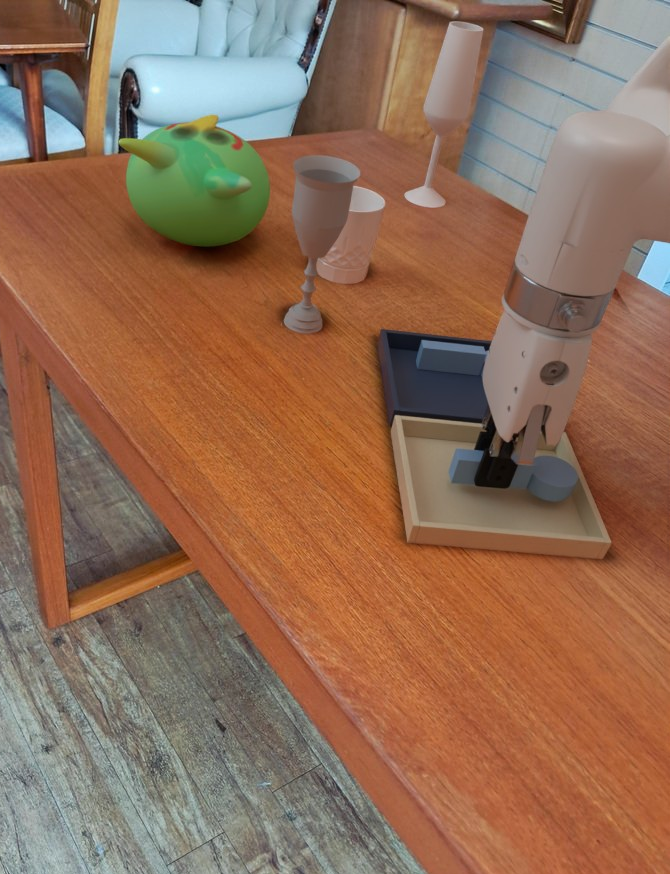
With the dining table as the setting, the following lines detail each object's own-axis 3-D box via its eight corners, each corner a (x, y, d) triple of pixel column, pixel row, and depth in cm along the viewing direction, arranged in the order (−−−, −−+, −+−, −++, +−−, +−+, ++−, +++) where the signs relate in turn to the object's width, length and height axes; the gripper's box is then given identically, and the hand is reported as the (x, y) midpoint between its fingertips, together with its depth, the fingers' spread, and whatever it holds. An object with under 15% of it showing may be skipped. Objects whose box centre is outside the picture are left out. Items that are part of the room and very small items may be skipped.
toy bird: (274, 227, 110) (287, 115, 100) (247, 282, 97) (259, 160, 87) (148, 202, 110) (149, 88, 100) (106, 253, 98) (102, 129, 88)
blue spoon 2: (564, 471, 74) (574, 448, 72) (576, 503, 71) (588, 480, 69) (446, 461, 73) (453, 438, 72) (453, 493, 70) (461, 470, 68)
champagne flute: (396, 197, 123) (433, 22, 107) (416, 186, 128) (455, 17, 112) (434, 211, 121) (478, 35, 105) (453, 200, 125) (498, 29, 109)
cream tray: (557, 451, 80) (565, 432, 78) (600, 562, 68) (612, 542, 67) (389, 434, 78) (394, 414, 76) (406, 546, 67) (412, 525, 65)
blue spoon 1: (512, 365, 90) (520, 343, 88) (520, 387, 86) (528, 365, 85) (414, 354, 89) (419, 332, 87) (418, 376, 85) (424, 354, 84)
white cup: (360, 295, 98) (376, 217, 92) (301, 278, 100) (312, 200, 93) (376, 269, 104) (392, 194, 97) (319, 254, 105) (331, 179, 98)
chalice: (320, 349, 88) (347, 189, 76) (263, 332, 89) (282, 171, 77) (340, 320, 93) (369, 166, 81) (286, 304, 94) (307, 149, 82)
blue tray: (522, 363, 91) (529, 345, 90) (555, 446, 80) (563, 426, 78) (376, 347, 90) (380, 328, 88) (388, 430, 79) (394, 409, 77)
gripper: (637, 356, 54) (548, 542, 66) (576, 252, 65) (510, 427, 78) (531, 346, 53) (461, 535, 66) (488, 242, 65) (436, 420, 77)
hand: (488, 475), depth 72 cm, fingers closed on blue spoon 2, 1 cm apart
